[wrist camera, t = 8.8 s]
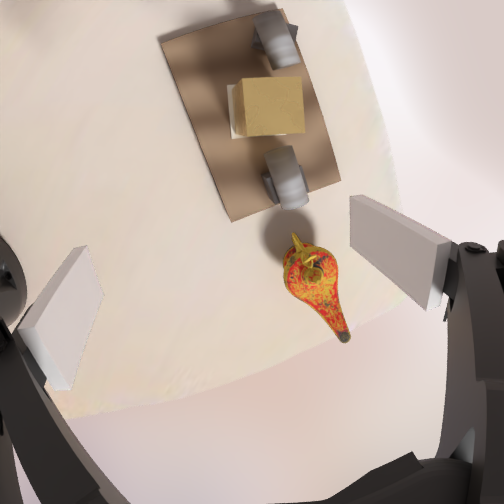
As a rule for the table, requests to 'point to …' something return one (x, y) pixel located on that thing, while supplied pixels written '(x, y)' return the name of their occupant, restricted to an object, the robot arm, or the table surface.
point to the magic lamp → (315, 283)
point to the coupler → (268, 106)
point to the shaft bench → (222, 114)
